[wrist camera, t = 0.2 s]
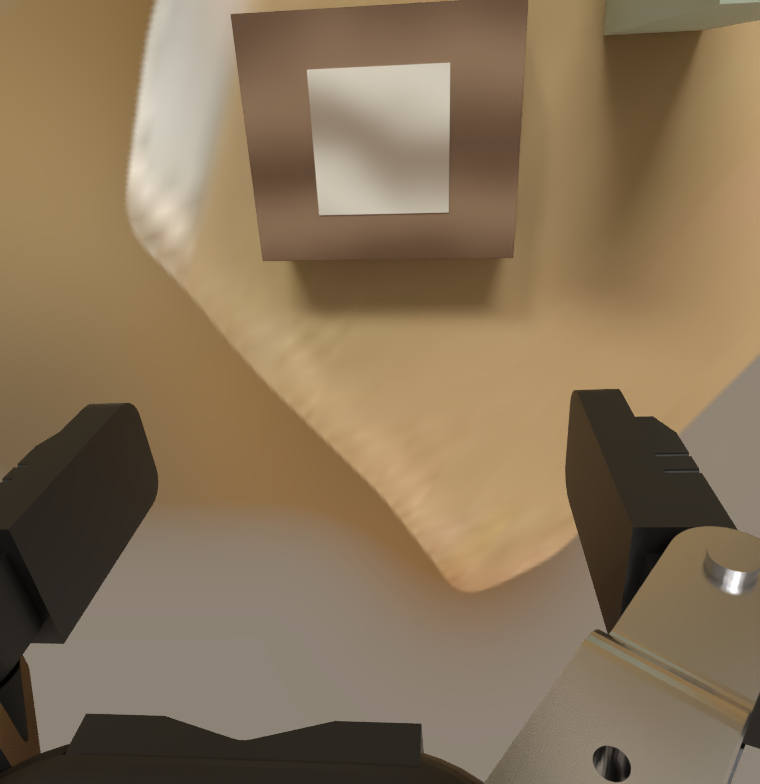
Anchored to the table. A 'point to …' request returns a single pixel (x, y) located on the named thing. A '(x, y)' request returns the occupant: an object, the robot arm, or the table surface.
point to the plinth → (384, 128)
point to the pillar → (676, 15)
